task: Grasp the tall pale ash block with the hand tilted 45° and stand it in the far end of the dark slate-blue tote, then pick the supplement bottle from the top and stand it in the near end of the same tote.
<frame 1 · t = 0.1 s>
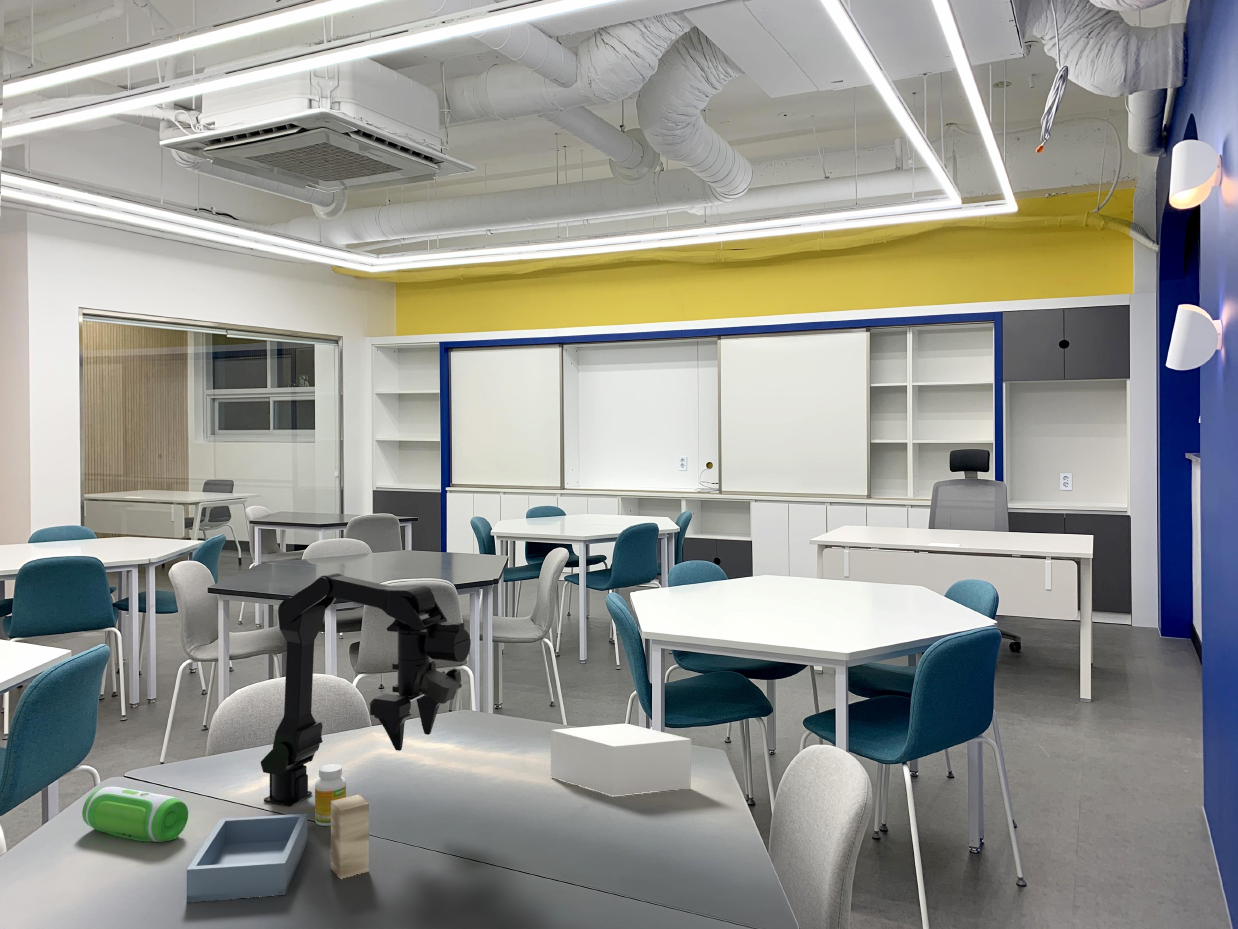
hand: (413, 742, 159), 15 cm above the table, tool pointing down, fingers open, 9 cm apart
supplement bottle: (330, 821, 159), on the table
white rectangular block: (619, 785, 178), on the table
speaker: (135, 836, 153), on the table
tall ash block: (349, 869, 141), on the table
tote: (251, 870, 140), on the table
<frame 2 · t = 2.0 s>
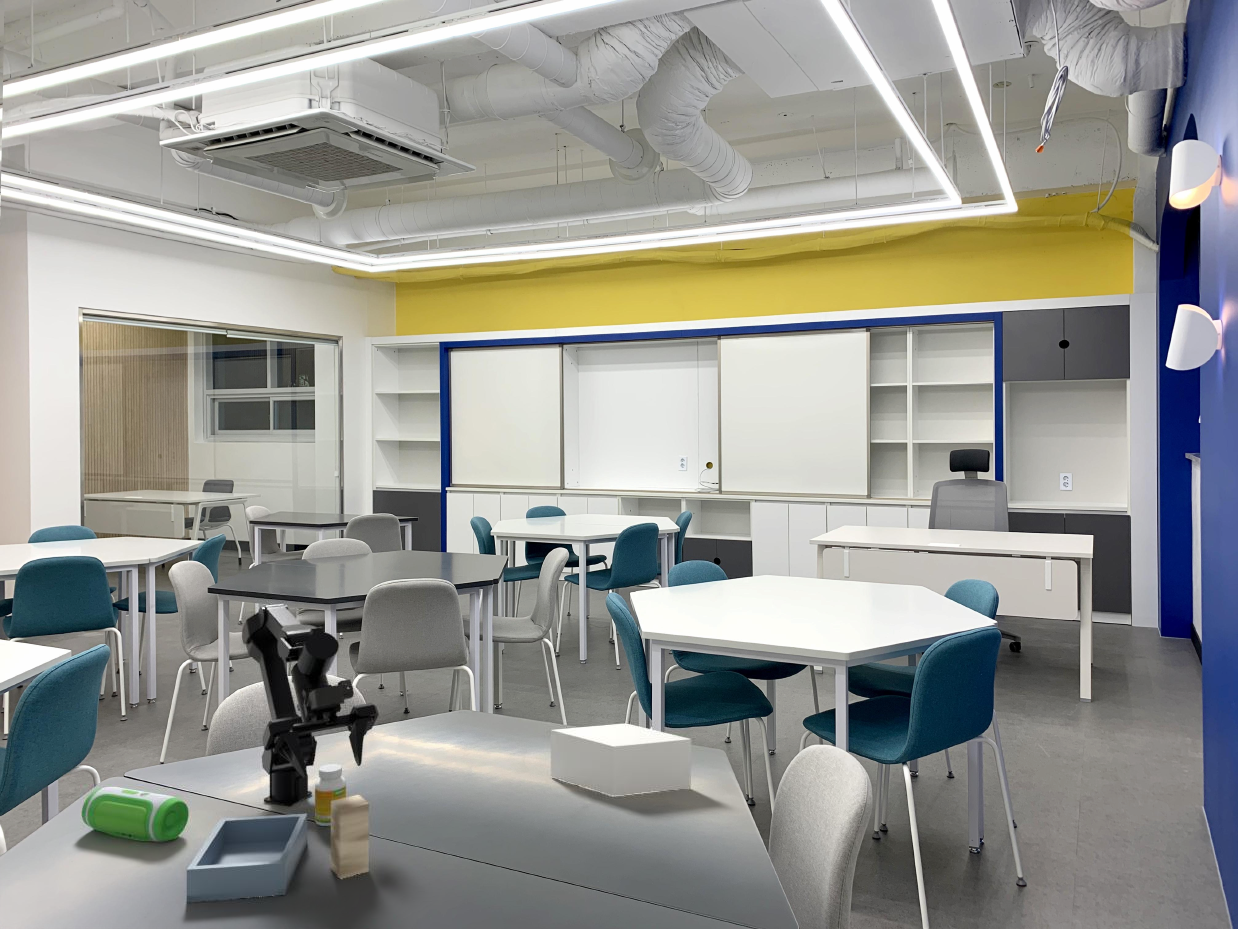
hand: (333, 770, 148), 13 cm above the table, tool tilted 45°, fingers open, 9 cm apart
nothing on the table moved.
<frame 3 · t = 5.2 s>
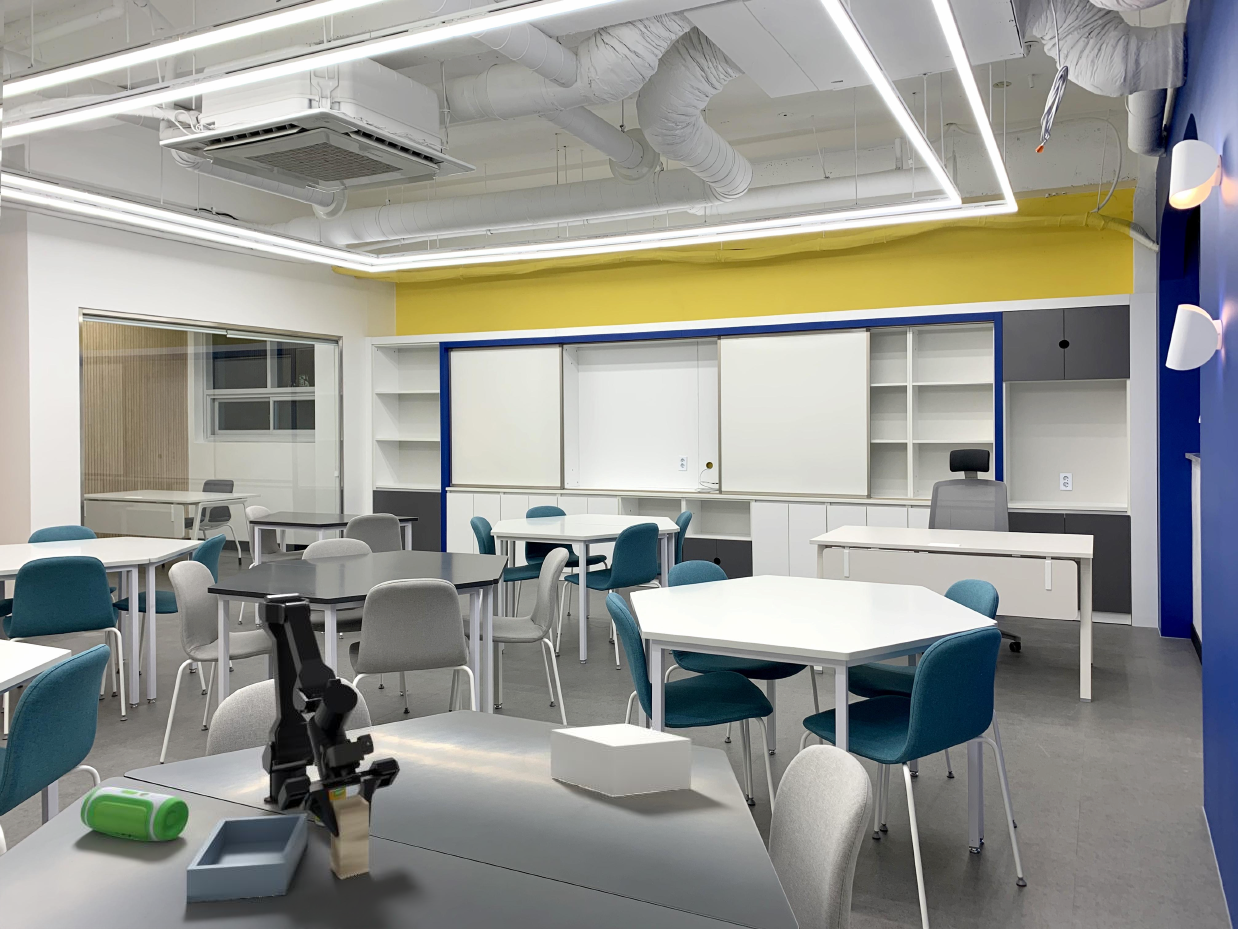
hand: (352, 832, 140), 7 cm above the table, tool tilted 45°, fingers closed on tall ash block, 5 cm apart
tall ash block: (349, 869, 141), on the table, touching gripper
everything else where it was.
when the fingers open (9 cm above the table, at t = 11.8 s): tall ash block drops 1 cm, resting on tote.
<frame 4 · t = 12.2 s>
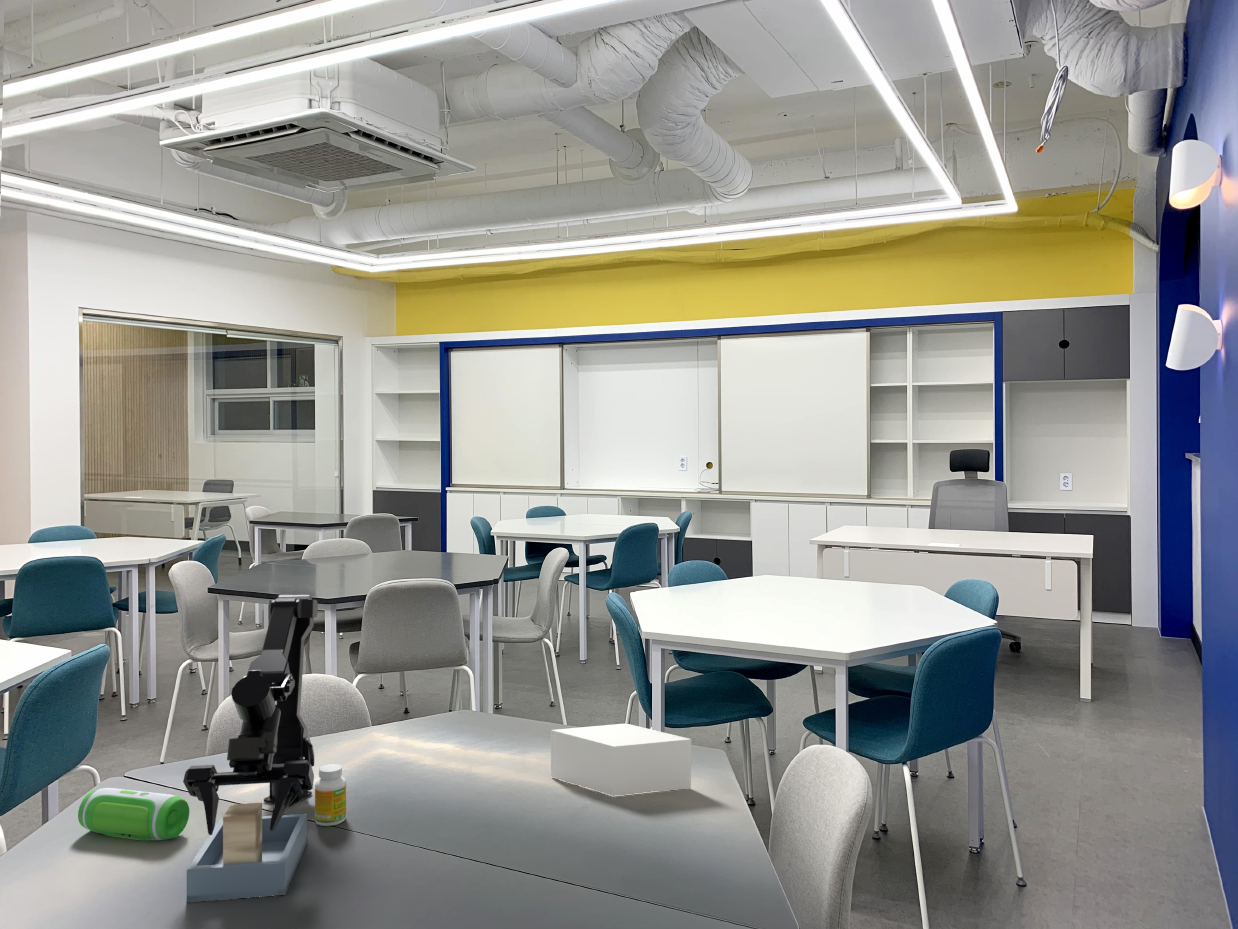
hand: (240, 832, 134), 9 cm above the table, tool tilted 45°, fingers open, 9 cm apart
tall ash block: (242, 880, 135), point 1 cm above the table, touching tote
everything else where it was.
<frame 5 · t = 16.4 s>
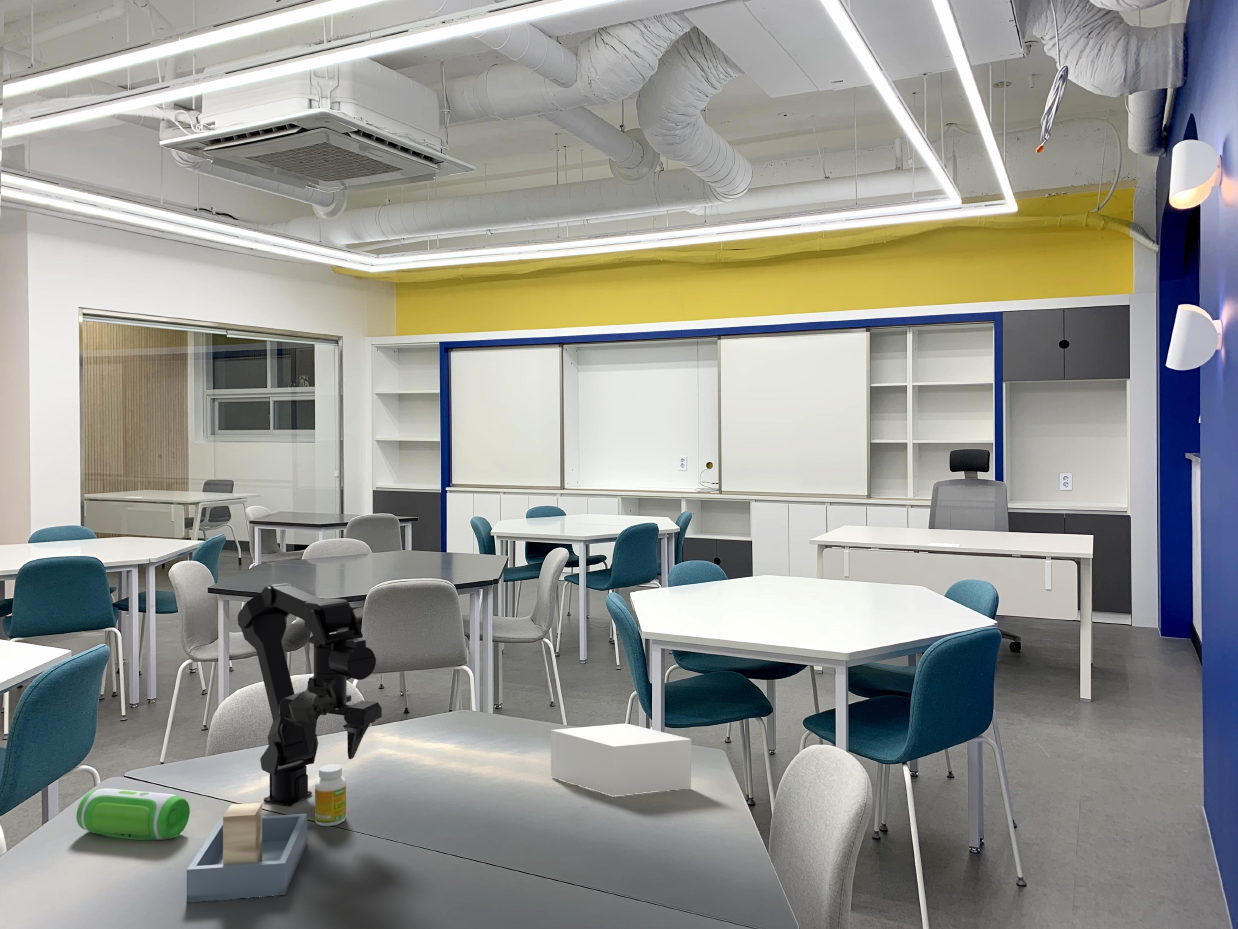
hand: (330, 755, 159), 12 cm above the table, tool pointing down, fingers open, 9 cm apart
nothing on the table moved.
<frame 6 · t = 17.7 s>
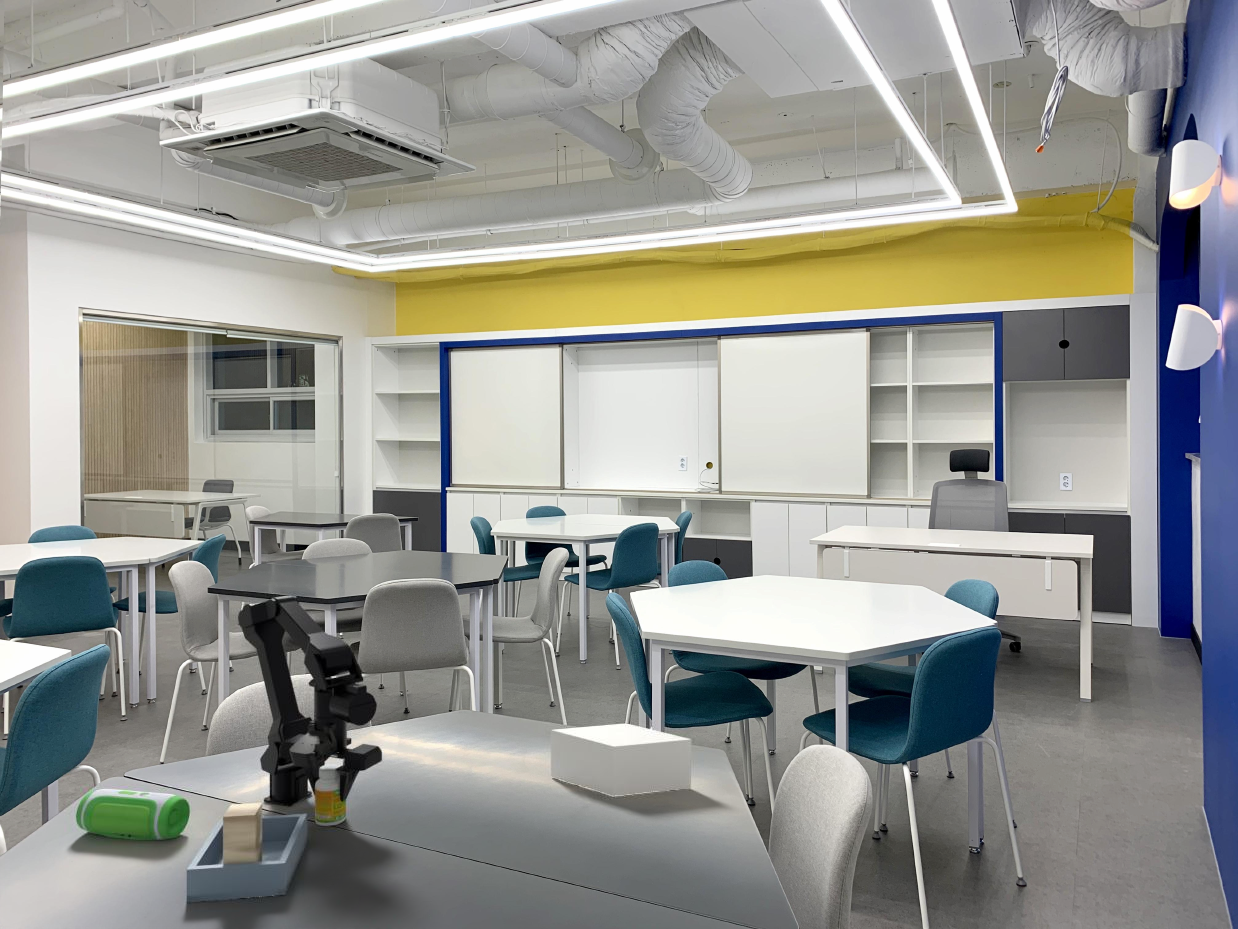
hand: (330, 798, 159), 4 cm above the table, tool pointing down, fingers closed on supplement bottle, 5 cm apart
supplement bottle: (330, 821, 159), on the table, touching gripper
everything else where it was.
when the fingers open (6 cm above the table, at t = 22.1 s): supplement bottle drops 1 cm, resting on tote.
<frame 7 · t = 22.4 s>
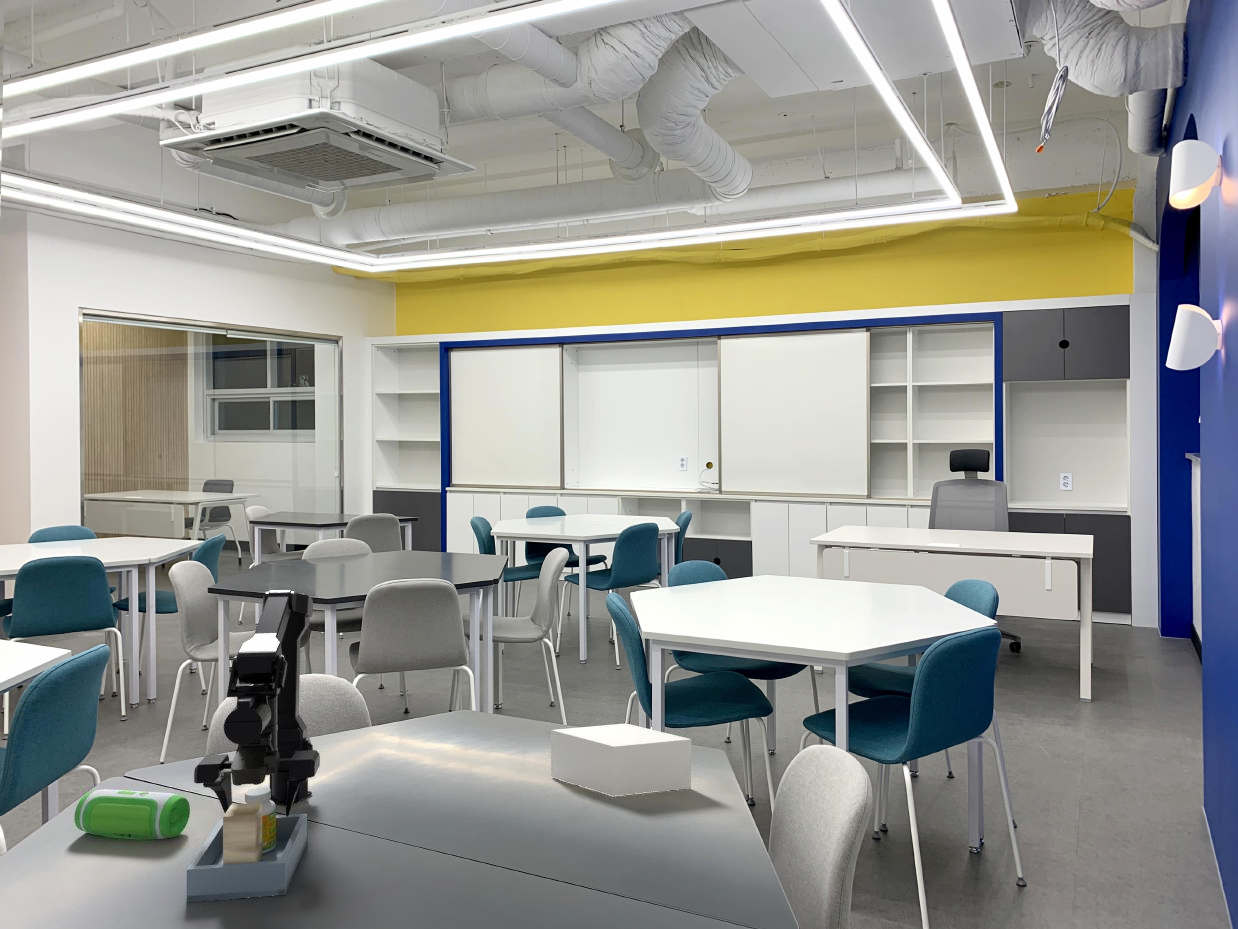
hand: (258, 817, 145), 6 cm above the table, tool pointing down, fingers open, 9 cm apart
supplement bottle: (258, 850, 145), point 1 cm above the table, touching tote
everything else where it was.
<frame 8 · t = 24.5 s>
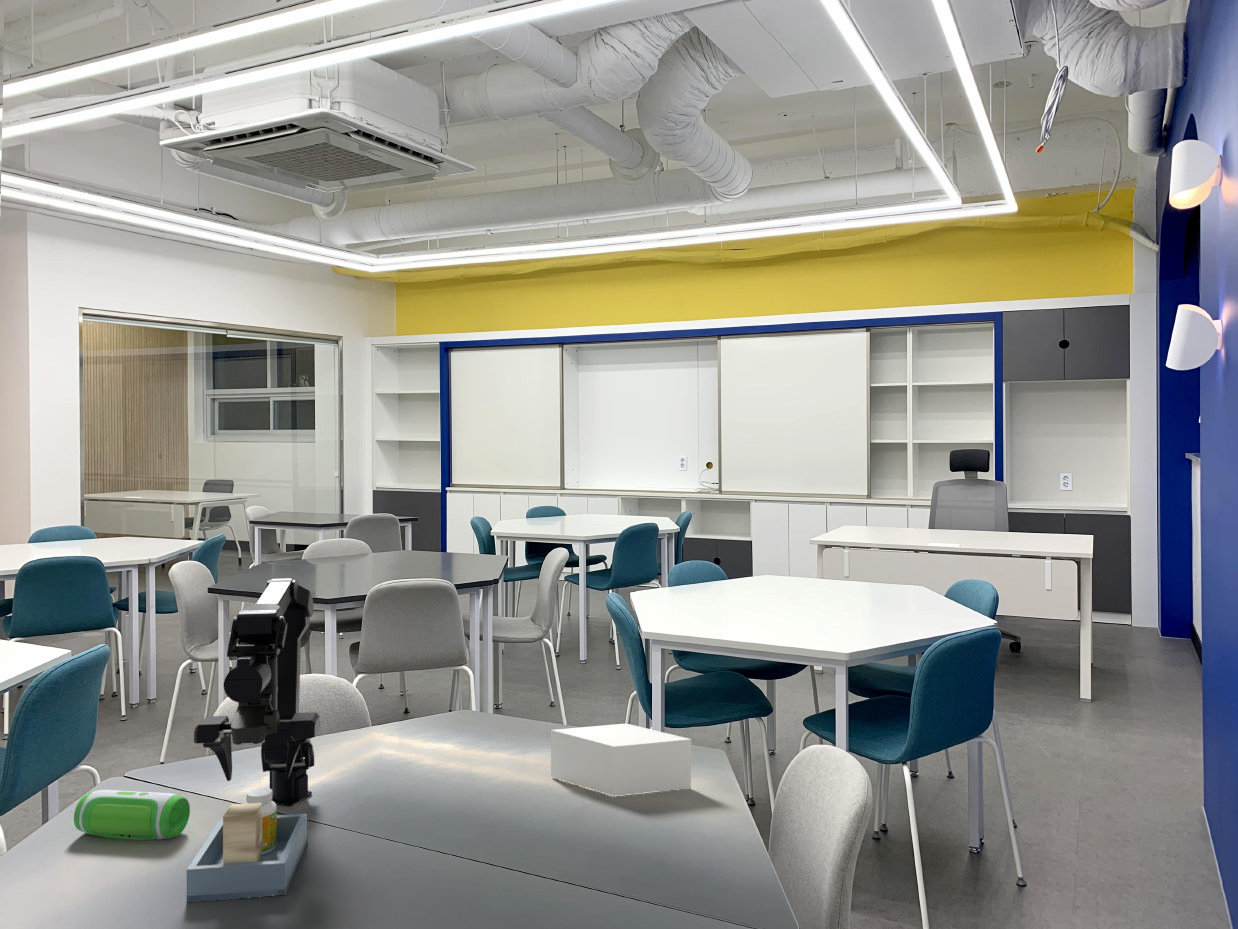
hand: (258, 778, 145), 13 cm above the table, tool pointing down, fingers open, 9 cm apart
at the end: tall ash block inside the target area on the tote (5.1 cm from its centre), point 1.0 cm above the tote's base; tall ash block tilted 0°; supplement bottle inside the target area on the tote (5.1 cm from its centre), point 0.8 cm above the tote's base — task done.
